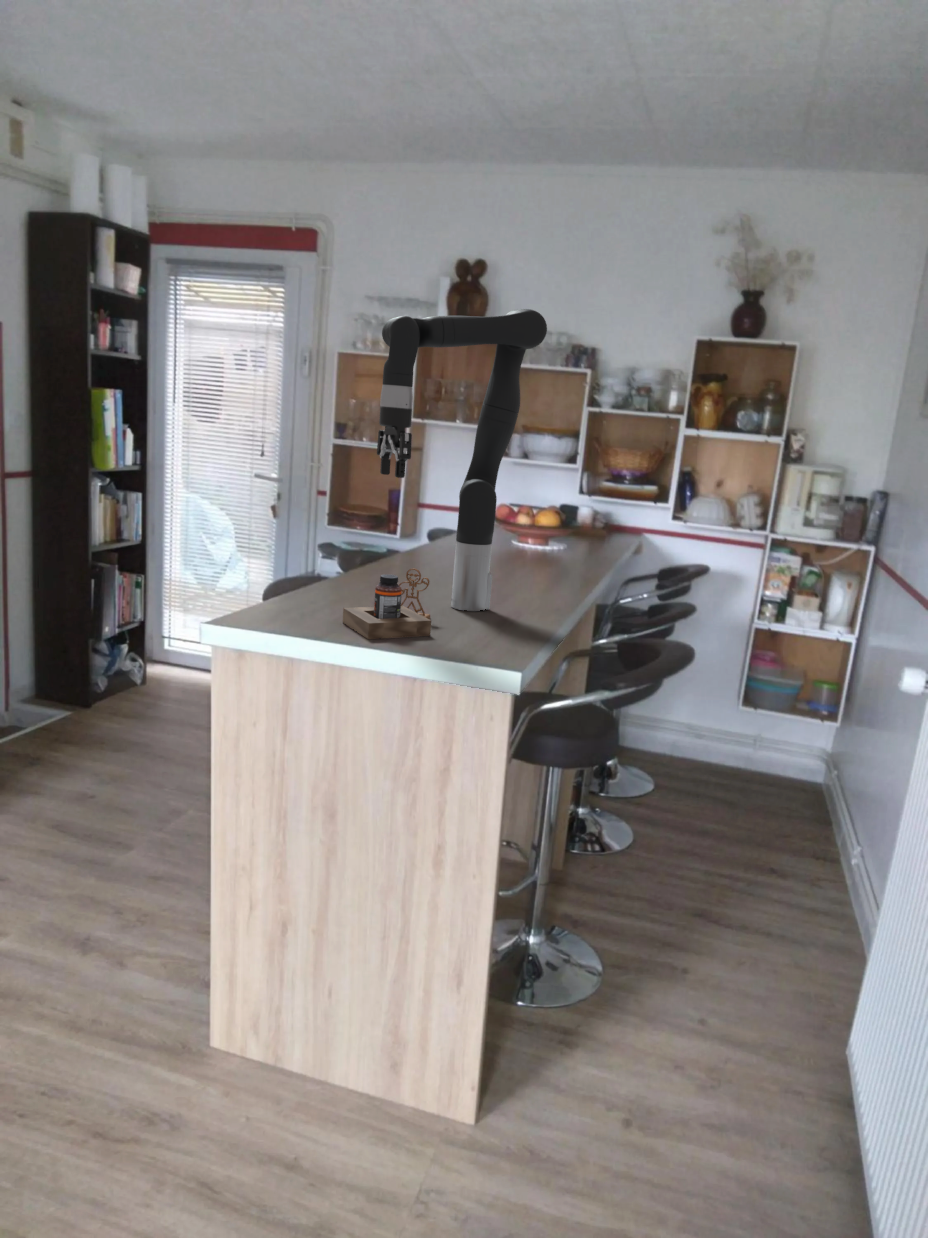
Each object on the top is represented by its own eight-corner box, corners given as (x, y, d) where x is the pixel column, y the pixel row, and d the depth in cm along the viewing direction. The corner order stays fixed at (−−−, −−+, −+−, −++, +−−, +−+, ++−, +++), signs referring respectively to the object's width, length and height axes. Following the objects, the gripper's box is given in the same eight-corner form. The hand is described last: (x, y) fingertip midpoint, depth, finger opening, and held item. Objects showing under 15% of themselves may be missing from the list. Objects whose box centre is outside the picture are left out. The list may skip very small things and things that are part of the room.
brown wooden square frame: (401, 620, 205) (402, 605, 204) (430, 635, 192) (431, 620, 191) (342, 622, 197) (343, 607, 197) (367, 639, 185) (368, 623, 184)
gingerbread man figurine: (390, 616, 208) (393, 567, 205) (396, 613, 212) (399, 565, 209) (425, 621, 206) (428, 571, 203) (430, 618, 209) (434, 569, 207)
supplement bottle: (373, 621, 197) (376, 572, 195) (399, 622, 198) (402, 574, 195) (372, 627, 191) (375, 577, 189) (399, 628, 192) (402, 579, 189)
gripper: (424, 408, 197) (419, 479, 201) (398, 406, 209) (394, 473, 213) (394, 405, 194) (389, 478, 197) (369, 404, 206) (366, 472, 209)
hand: (392, 475), depth 205 cm, fingers open, 8 cm apart
